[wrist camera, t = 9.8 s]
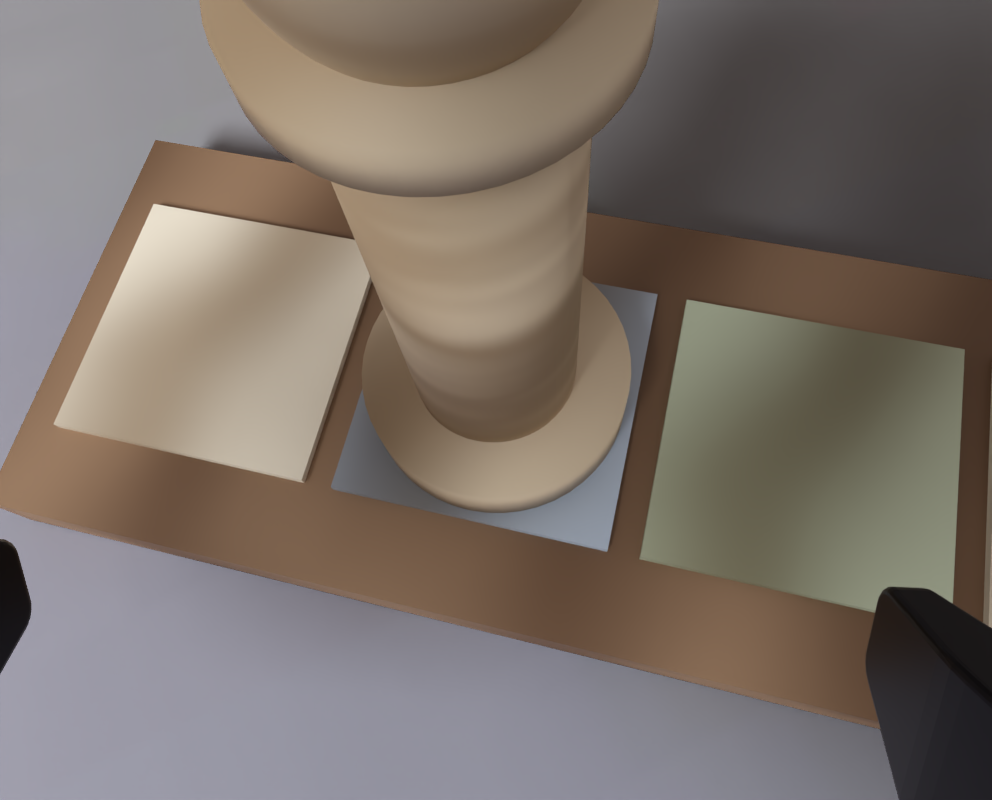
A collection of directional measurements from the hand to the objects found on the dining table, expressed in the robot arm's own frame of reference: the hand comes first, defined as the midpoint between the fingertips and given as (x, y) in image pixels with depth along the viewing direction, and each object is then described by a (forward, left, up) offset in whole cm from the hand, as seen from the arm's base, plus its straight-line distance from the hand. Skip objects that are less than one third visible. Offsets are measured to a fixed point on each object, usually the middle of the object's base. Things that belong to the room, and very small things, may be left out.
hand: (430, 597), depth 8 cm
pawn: (+4, -3, -6) cm, 8 cm away
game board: (+2, -5, -8) cm, 10 cm away
